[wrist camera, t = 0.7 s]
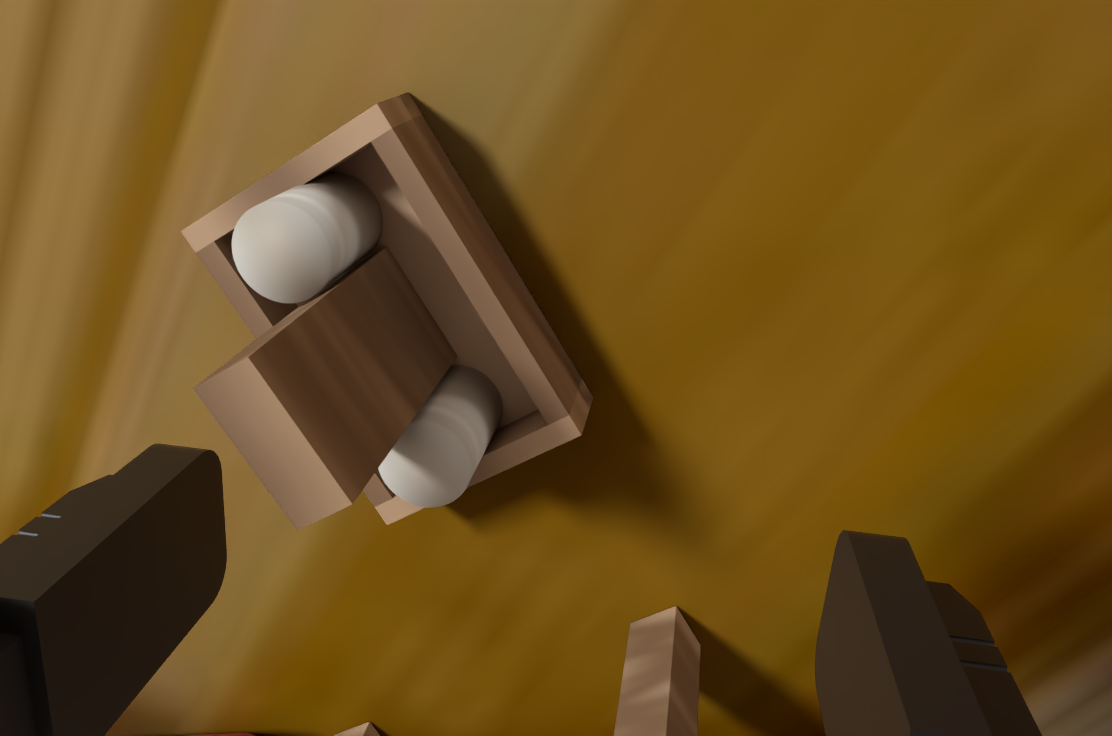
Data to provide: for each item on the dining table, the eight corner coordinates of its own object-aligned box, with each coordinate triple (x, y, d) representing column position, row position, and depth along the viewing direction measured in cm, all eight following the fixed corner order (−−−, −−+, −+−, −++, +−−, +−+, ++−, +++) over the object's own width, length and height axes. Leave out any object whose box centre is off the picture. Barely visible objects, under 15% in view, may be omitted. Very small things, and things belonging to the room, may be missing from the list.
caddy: (408, 92, 30) (250, 149, 20) (593, 397, 33) (536, 579, 23) (226, 210, 33) (6, 312, 23) (412, 483, 36) (291, 679, 26)
